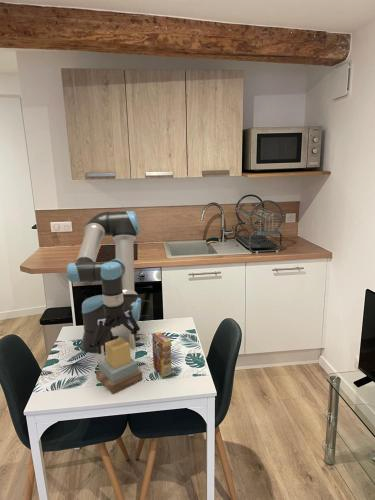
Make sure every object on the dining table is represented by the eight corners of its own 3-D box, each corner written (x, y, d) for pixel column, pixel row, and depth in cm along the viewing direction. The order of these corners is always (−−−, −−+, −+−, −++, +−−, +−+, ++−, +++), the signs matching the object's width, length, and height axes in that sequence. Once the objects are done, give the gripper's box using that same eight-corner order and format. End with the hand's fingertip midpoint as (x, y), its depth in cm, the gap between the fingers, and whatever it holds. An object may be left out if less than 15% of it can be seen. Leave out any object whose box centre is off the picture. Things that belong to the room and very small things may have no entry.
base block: (96, 380, 141) (96, 371, 140) (125, 367, 149) (124, 359, 148) (113, 395, 132) (112, 386, 131) (142, 381, 140) (141, 372, 139)
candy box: (172, 374, 143) (171, 340, 139) (163, 377, 141) (161, 343, 137) (162, 364, 150) (160, 331, 147) (153, 367, 148) (151, 334, 144)
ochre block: (106, 361, 140) (104, 342, 138) (122, 355, 144) (121, 337, 142) (114, 369, 134) (113, 350, 132) (130, 362, 139) (129, 344, 137)
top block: (99, 371, 140) (98, 362, 139) (123, 360, 147) (122, 352, 146) (113, 383, 132) (112, 373, 131) (137, 371, 139) (137, 362, 138)
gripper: (87, 315, 123) (92, 370, 128) (146, 297, 138) (149, 347, 143) (78, 309, 128) (83, 361, 134) (136, 292, 144) (139, 340, 149)
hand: (117, 354), depth 138 cm, fingers open, 13 cm apart
